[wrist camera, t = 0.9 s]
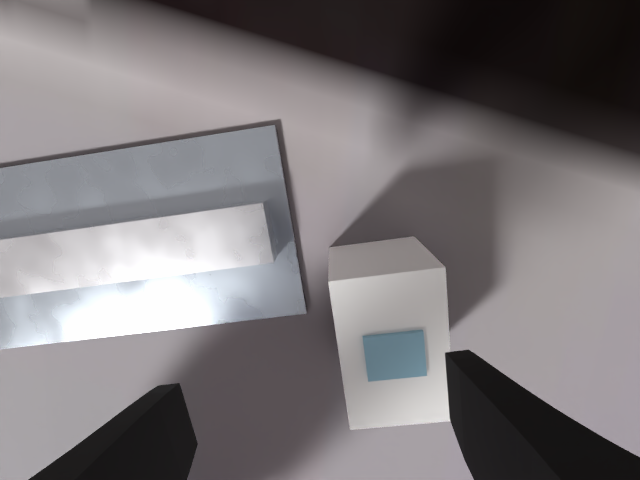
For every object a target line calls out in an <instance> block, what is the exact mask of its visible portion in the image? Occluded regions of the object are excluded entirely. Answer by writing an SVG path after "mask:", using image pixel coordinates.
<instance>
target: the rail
mask: <svg viewBox="0 0 640 480" xmlns="http://www.w3.org/2000/svg"><path fill="white" fill-rule="evenodd" d="M306 313H307V309H306V303H305V297H304V291H303V285H302V279H301V273H300V267H299V261H298V255H297V249H296V243H295V237H294V231H293V225H292V220H291V214H290V208H289V202H288V196H287V190H286V184H285V178H284V172H283V166H282V160H281V154H280V148H279V142H278V136H277V130H276V125H271V126H264V127H258V128H252V129H245V130H239V131H233V132H226V133H220V134H213V135H207V136H201V137H194V138H188V139H182V140H175V141H169V142H163V143H156V144H150V145H144V146H137V147H131V148H125V149H118V150H112V151H105V152H99V153H93V154H86V155H80V156H74V157H67V158H61V159H55V160H48V161H42V162H36V163H29V164H23V165H17V166H10V167H4V168H0V349H7V348H16V347H24V346H33V345H41V344H50V343H58V342H67V341H76V340H84V339H93V338H101V337H110V336H119V335H127V334H136V333H144V332H153V331H161V330H170V329H179V328H187V327H196V326H204V325H213V324H221V323H230V322H239V321H247V320H256V319H264V318H273V317H281V316H290V315H299V314H306Z"/></svg>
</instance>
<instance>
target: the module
mask: <svg viewBox="0 0 640 480" xmlns="http://www.w3.org/2000/svg"><path fill="white" fill-rule="evenodd" d="M328 284H329V291H330V298H331V305H332V311H333V318H334V325H335V332H336V339H337V345H338V352H339V359H340V366H341V372H342V379H343V386H344V393H345V400H346V406H347V413H348V420H349V427H350V430H357V429H368V428H379V427H390V426H401V425H412V424H423V423H434V422H445V421H450V415H449V402H448V389H447V375H446V362H445V353H446V352H450V335H449V317H448V300H447V282H446V267H445V266H444V265H443V264H442V263H441V262H440V261H439V260H438V259H437V258H436V257H435V256H434V255H433V254H432V253H431V252H430V251H429V250H428V249H427V248H426V247H425V246H424V245H423V244H422V243H421V242H420V241H419V240H418V239H416V238H415V237H414V236H413V237H405V238H397V239H389V240H382V241H374V242H366V243H359V244H351V245H343V246H336V247H329V269H328Z"/></svg>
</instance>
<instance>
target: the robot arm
mask: <svg viewBox="0 0 640 480" xmlns="http://www.w3.org/2000/svg"><path fill="white" fill-rule="evenodd" d="M445 362H446V375H447V389H448V402H449V415H450V421H451V423H452V426H453V429H454V432H455V435H456V438H457V440H458V443H459V446H460V449H461V451H462V454H463V457H464V459H465V462H466V464H467V466H468V468H469V470H470V472H471V474H472V476H473V478H474V480H640V457H638V456H636V455H634V454H632V453H630V452H629V451H627V450H625V449H623V448H621V447H619V446H618V445H616V444H614V443H612V442H610V441H609V440H607V439H605V438H603V437H602V436H600V435H598V434H596V433H595V432H593V431H591V430H590V429H588V428H586V427H585V426H583V425H581V424H580V423H578V422H576V421H575V420H573V419H571V418H570V417H568V416H566V415H565V414H563V413H562V412H560V411H558V410H557V409H555V408H554V407H552V406H551V405H549V404H547V403H546V402H544V401H543V400H541V399H540V398H538V397H537V396H535V395H534V394H532V393H531V392H529V391H528V390H526V389H525V388H523V387H522V386H520V385H519V384H517V383H516V382H514V381H513V380H511V379H510V378H509V377H507V376H506V375H504V374H503V373H501V372H500V371H499V370H497V369H496V368H494V367H493V366H491V365H490V364H489V363H487V362H486V361H484V360H483V359H482V358H480V357H479V356H477V355H476V354H474V353H473V352H471V351H470V350H463V351H454V352H446V353H445ZM196 448H197V440H196V437H195V434H194V430H193V427H192V424H191V420H190V417H189V413H188V410H187V407H186V403H185V400H184V397H183V393H182V390H181V387H180V383H177V384H169V385H160V386H157V387H156V388H154V389H152V390H151V391H149V392H148V393H146V394H145V395H144V396H142V397H141V398H139V399H138V400H137V401H135V402H134V403H132V404H131V405H130V406H128V407H127V408H126V409H124V410H123V411H122V412H120V413H119V414H118V415H116V416H115V417H114V418H112V419H111V420H110V421H108V422H107V423H106V424H104V425H103V426H102V427H100V428H99V429H98V430H96V431H95V432H94V433H92V434H91V435H90V436H88V437H87V438H86V439H84V440H83V441H82V442H80V443H79V444H78V445H76V446H75V447H74V448H72V449H71V450H69V451H68V452H67V453H65V454H64V455H62V456H61V457H60V458H58V459H57V460H55V461H54V462H53V463H51V464H50V465H48V466H47V467H46V468H44V469H43V470H41V471H40V472H39V473H37V474H36V475H34V476H33V477H32V478H30V479H29V480H187V477H188V474H189V471H190V468H191V465H192V462H193V458H194V455H195V451H196Z"/></svg>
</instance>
